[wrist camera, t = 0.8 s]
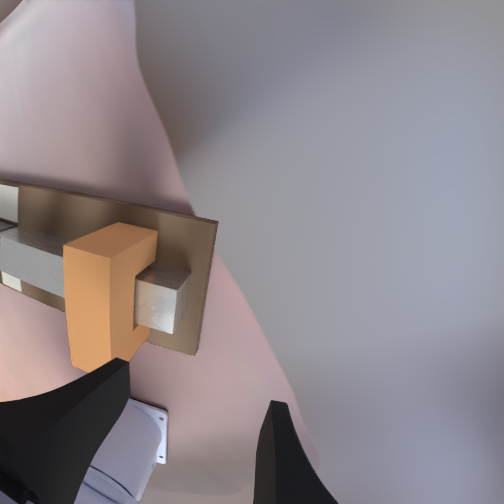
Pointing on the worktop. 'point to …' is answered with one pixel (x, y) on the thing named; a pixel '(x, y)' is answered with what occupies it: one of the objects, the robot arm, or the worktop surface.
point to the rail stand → (95, 218)
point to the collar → (105, 293)
